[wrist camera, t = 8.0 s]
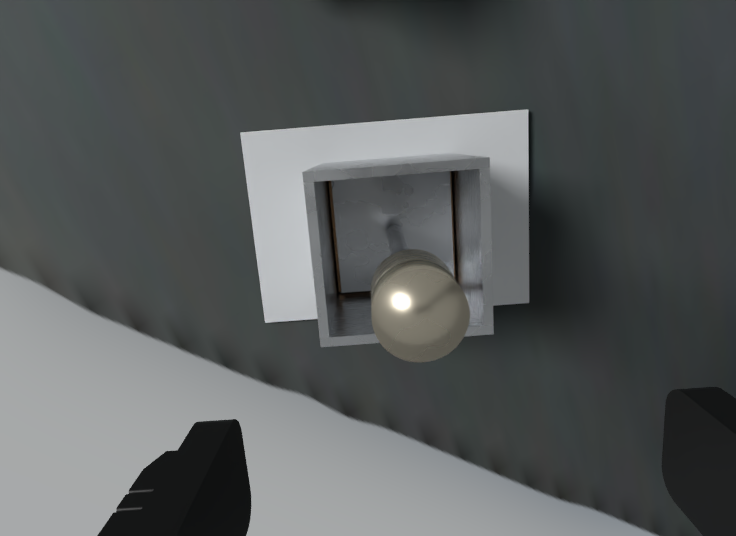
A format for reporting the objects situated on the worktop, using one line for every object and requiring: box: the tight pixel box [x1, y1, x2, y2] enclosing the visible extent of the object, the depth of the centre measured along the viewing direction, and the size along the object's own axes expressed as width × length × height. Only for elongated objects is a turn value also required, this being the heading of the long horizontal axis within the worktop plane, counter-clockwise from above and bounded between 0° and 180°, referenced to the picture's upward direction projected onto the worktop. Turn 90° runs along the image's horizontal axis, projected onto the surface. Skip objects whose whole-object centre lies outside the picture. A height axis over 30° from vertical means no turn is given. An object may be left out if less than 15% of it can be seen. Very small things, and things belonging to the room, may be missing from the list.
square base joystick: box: [302, 153, 494, 347], centre depth 32 cm, size 9×9×12 cm
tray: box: [240, 109, 529, 323], centre depth 38 cm, size 20×14×1 cm
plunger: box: [331, 171, 470, 362], centre depth 25 cm, size 7×7×17 cm
